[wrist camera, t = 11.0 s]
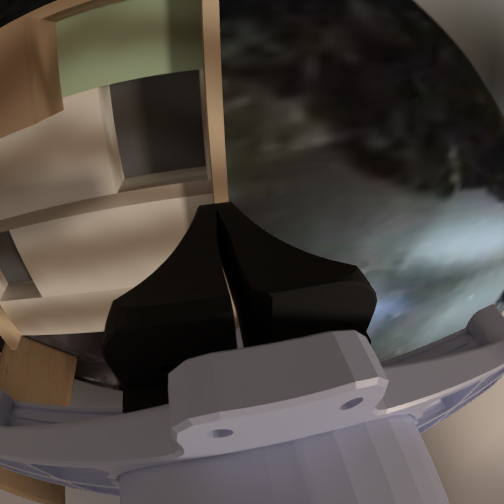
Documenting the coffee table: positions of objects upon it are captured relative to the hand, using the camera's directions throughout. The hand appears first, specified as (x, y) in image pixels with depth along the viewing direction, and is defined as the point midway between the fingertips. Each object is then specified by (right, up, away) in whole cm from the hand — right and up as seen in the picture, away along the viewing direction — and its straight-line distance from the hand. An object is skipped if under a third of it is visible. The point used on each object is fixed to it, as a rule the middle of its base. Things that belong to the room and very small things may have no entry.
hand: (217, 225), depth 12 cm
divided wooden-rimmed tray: (-13, +4, +7) cm, 15 cm away
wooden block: (-27, -16, +19) cm, 36 cm away
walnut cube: (-13, +9, -1) cm, 16 cm away
